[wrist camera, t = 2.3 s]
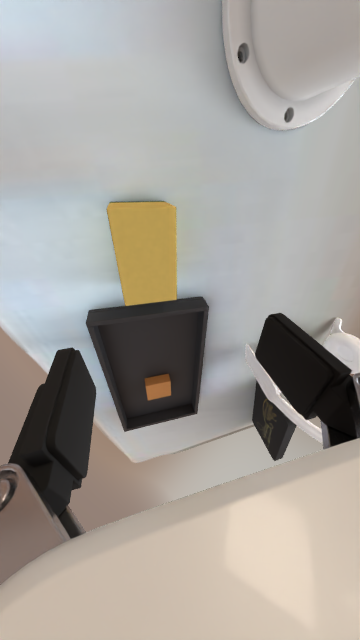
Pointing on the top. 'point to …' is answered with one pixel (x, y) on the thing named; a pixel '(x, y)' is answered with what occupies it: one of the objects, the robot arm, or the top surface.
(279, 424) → the nameplate
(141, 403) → the black shallow rectangular tray
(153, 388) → the orange square block
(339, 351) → the headset
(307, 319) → the top surface
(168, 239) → the sponge
